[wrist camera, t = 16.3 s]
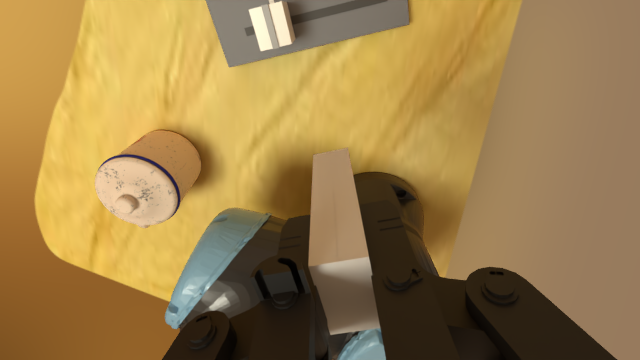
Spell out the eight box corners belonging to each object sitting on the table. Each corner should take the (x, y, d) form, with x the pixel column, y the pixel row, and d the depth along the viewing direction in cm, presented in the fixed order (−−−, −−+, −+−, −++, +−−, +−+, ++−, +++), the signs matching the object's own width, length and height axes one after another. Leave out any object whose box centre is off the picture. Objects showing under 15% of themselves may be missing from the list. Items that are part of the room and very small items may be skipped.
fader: (295, 39, 33) (291, 44, 29) (268, 45, 33) (260, 52, 29) (286, 1, 31) (281, 0, 27) (258, 8, 32) (247, 9, 27)
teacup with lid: (138, 117, 40) (75, 156, 30) (209, 140, 41) (172, 184, 31) (132, 193, 45) (77, 247, 35) (195, 210, 47) (160, 267, 37)
